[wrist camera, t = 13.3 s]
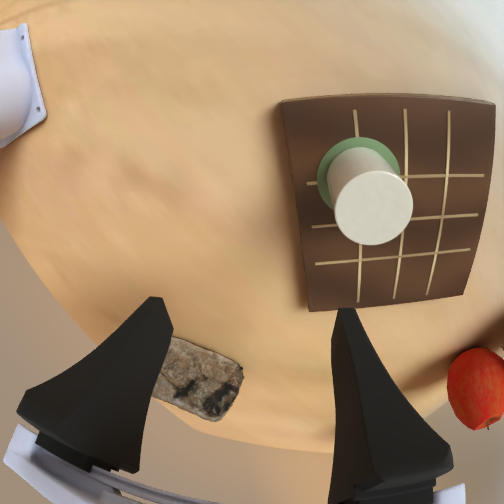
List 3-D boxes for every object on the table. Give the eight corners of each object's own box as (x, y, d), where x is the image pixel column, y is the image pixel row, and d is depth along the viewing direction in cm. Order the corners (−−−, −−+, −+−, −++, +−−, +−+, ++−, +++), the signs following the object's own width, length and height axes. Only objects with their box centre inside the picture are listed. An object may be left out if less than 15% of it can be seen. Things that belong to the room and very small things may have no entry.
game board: (280, 100, 15) (279, 102, 14) (486, 100, 12) (496, 104, 11) (308, 302, 24) (308, 313, 23) (458, 286, 21) (463, 296, 20)
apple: (501, 324, 23) (530, 402, 14) (489, 359, 27) (508, 426, 18) (442, 347, 26) (463, 433, 17) (438, 379, 30) (451, 450, 21)
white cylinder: (323, 149, 15) (331, 174, 12) (390, 145, 14) (415, 169, 11) (329, 211, 18) (336, 249, 14) (390, 206, 17) (409, 242, 13)
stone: (144, 323, 29) (120, 379, 23) (253, 357, 30) (243, 417, 24) (144, 352, 33) (126, 400, 28) (236, 382, 34) (226, 432, 29)
